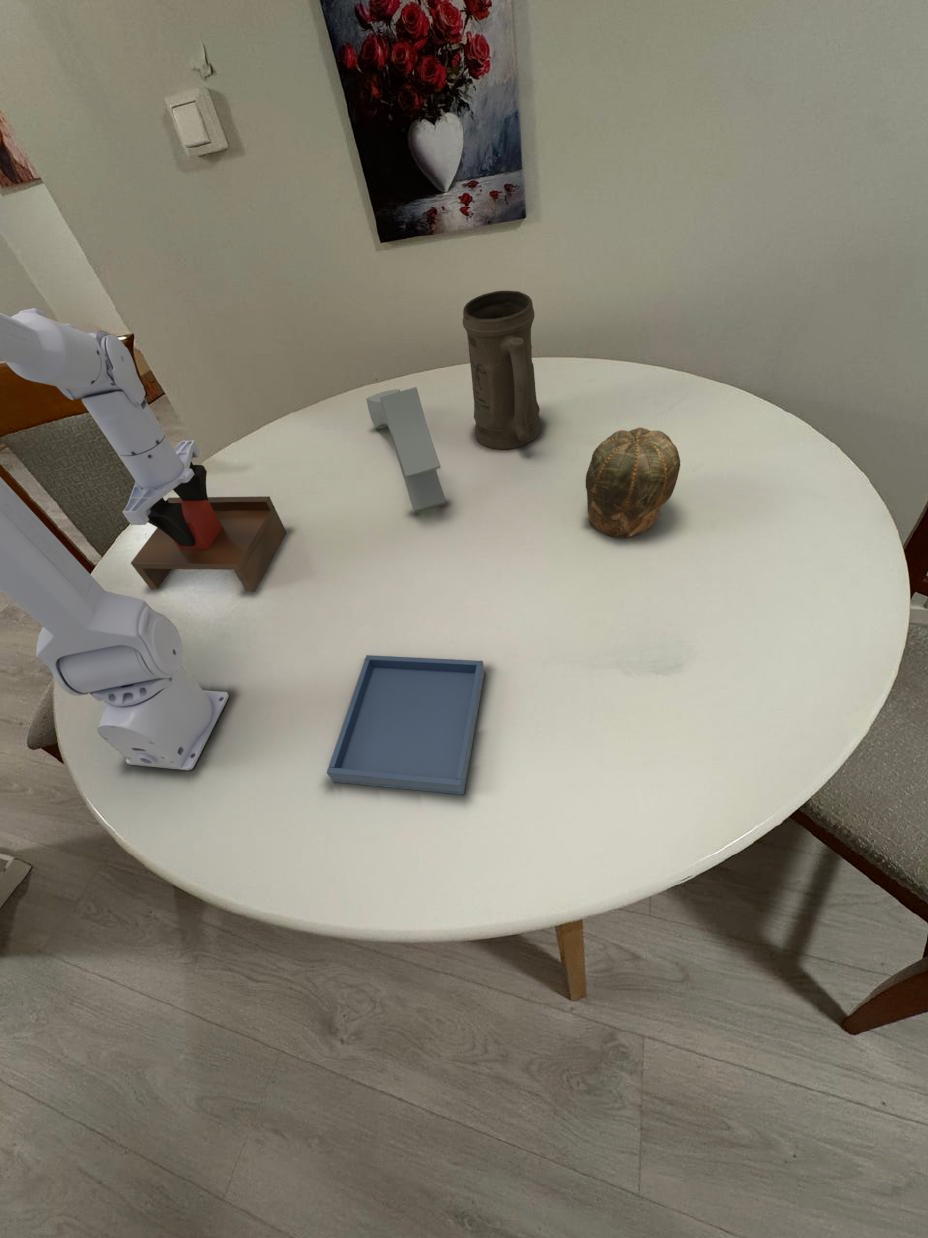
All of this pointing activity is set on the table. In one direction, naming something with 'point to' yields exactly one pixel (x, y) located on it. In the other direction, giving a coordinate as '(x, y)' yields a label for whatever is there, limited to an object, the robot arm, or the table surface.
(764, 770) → the table surface
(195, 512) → the block
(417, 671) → the tray
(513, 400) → the beer stein
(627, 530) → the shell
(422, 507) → the faucet
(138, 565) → the shelf
